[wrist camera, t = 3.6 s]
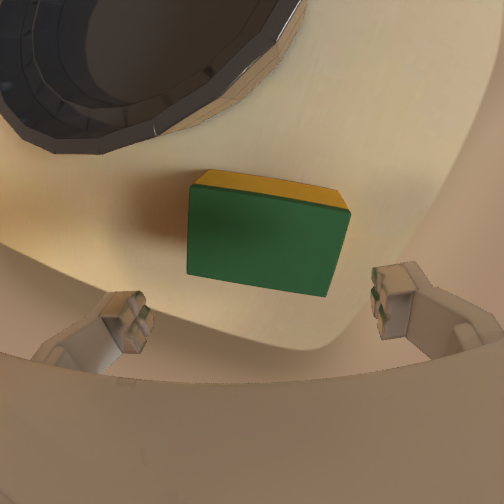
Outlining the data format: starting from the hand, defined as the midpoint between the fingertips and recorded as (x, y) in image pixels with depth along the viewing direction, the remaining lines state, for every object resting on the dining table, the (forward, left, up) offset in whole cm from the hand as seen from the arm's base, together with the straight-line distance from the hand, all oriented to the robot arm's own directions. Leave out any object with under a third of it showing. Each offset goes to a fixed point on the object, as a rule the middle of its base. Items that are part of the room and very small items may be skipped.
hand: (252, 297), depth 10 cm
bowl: (+8, -12, -7) cm, 16 cm away
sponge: (0, 0, -7) cm, 7 cm away
